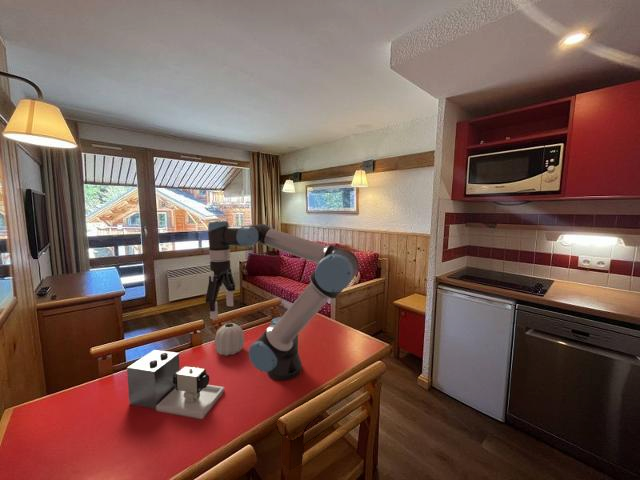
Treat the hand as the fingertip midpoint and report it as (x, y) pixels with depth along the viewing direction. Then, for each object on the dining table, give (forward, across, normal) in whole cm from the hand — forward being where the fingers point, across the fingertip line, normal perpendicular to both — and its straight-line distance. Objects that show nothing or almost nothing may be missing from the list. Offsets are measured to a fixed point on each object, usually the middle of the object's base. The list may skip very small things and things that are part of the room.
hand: (222, 312), depth 107 cm
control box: (+28, +13, -21) cm, 37 cm away
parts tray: (+28, +14, -6) cm, 32 cm away
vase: (+28, -20, -8) cm, 36 cm away
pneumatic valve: (+28, +14, -6) cm, 32 cm away
